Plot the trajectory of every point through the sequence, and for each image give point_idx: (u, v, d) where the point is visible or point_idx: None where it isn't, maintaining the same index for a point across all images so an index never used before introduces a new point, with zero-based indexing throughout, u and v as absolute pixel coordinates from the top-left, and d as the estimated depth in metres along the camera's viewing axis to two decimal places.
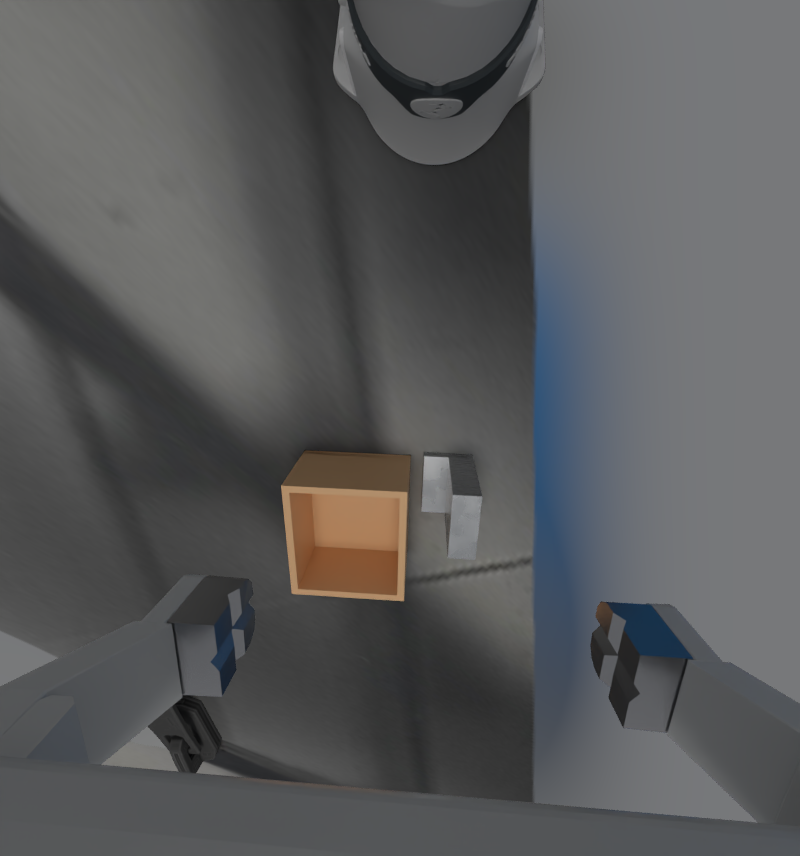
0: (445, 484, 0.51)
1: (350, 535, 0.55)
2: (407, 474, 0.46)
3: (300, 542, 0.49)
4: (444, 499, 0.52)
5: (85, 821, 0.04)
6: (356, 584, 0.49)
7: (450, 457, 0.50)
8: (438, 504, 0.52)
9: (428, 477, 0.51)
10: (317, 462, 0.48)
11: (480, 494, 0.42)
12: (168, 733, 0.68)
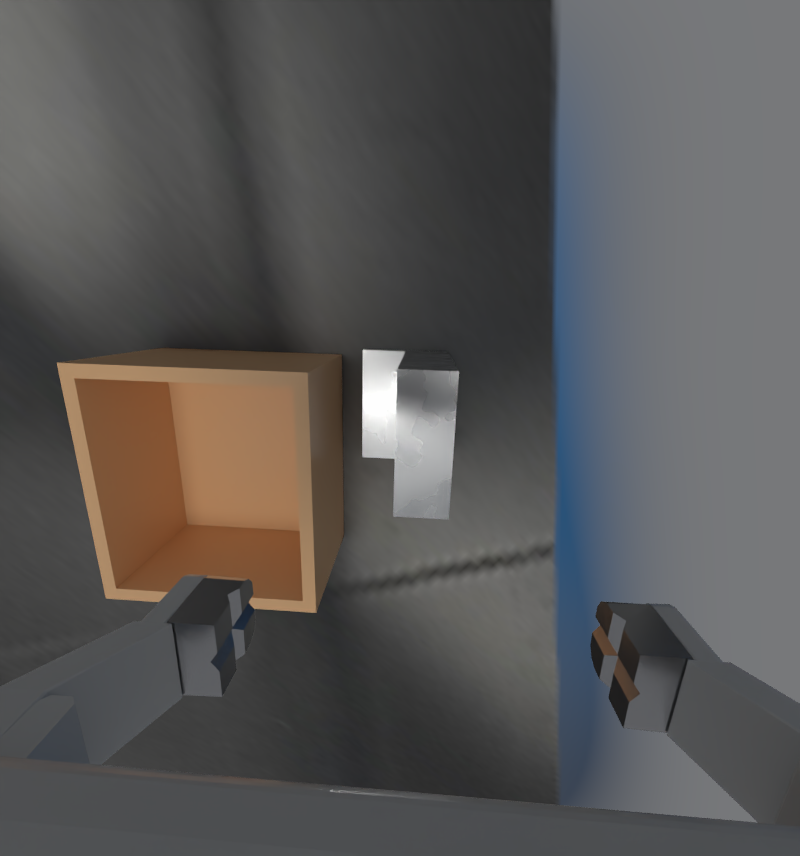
0: None
1: (244, 503, 0.32)
2: (322, 363, 0.25)
3: (127, 500, 0.26)
4: None
5: (85, 820, 0.04)
6: None
7: (408, 351, 0.28)
8: (390, 443, 0.30)
9: (371, 391, 0.29)
10: (168, 353, 0.27)
11: (455, 370, 0.20)
12: None
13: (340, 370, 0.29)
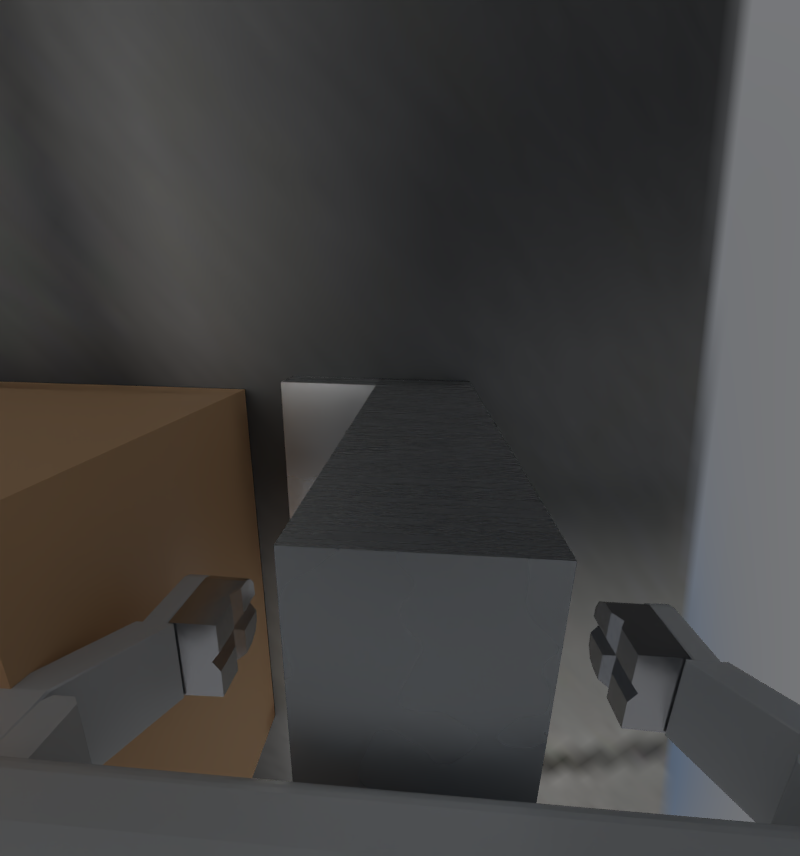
0: None
1: None
2: (141, 432, 0.09)
3: None
4: None
5: (86, 820, 0.04)
6: None
7: (383, 384, 0.12)
8: None
9: (305, 469, 0.13)
10: None
11: (550, 538, 0.04)
12: None
13: (240, 424, 0.14)
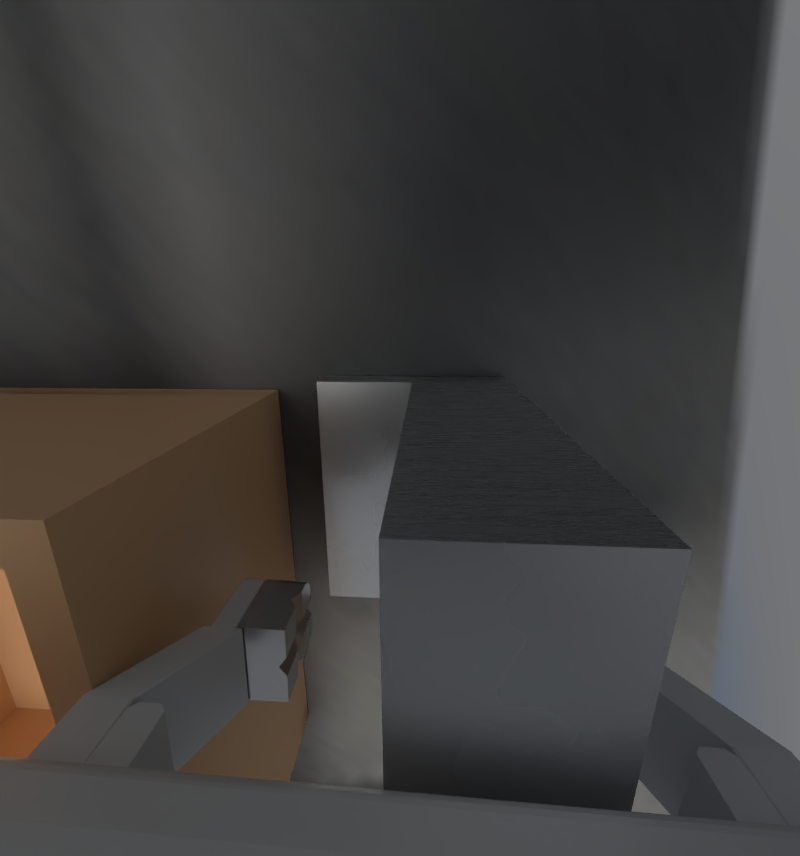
0: None
1: None
2: (192, 433, 0.09)
3: None
4: None
5: (86, 820, 0.04)
6: None
7: (419, 382, 0.12)
8: None
9: (341, 468, 0.13)
10: None
11: (654, 527, 0.04)
12: None
13: (275, 424, 0.14)
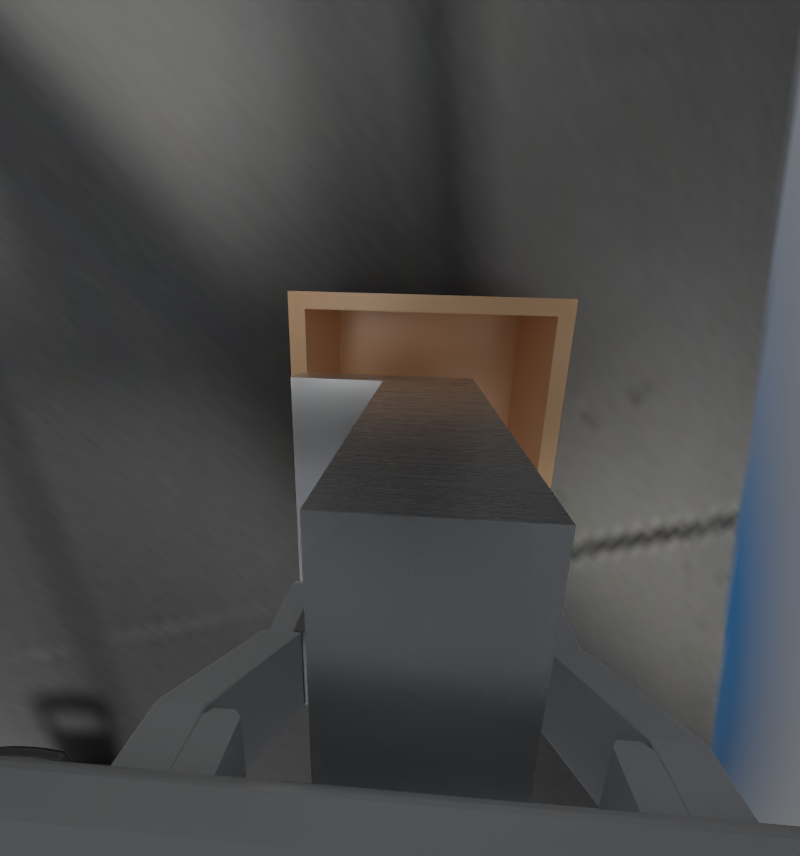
0: None
1: None
2: None
3: None
4: None
5: (85, 820, 0.04)
6: None
7: (389, 380, 0.13)
8: None
9: (313, 462, 0.14)
10: None
11: (551, 508, 0.05)
12: None
13: None
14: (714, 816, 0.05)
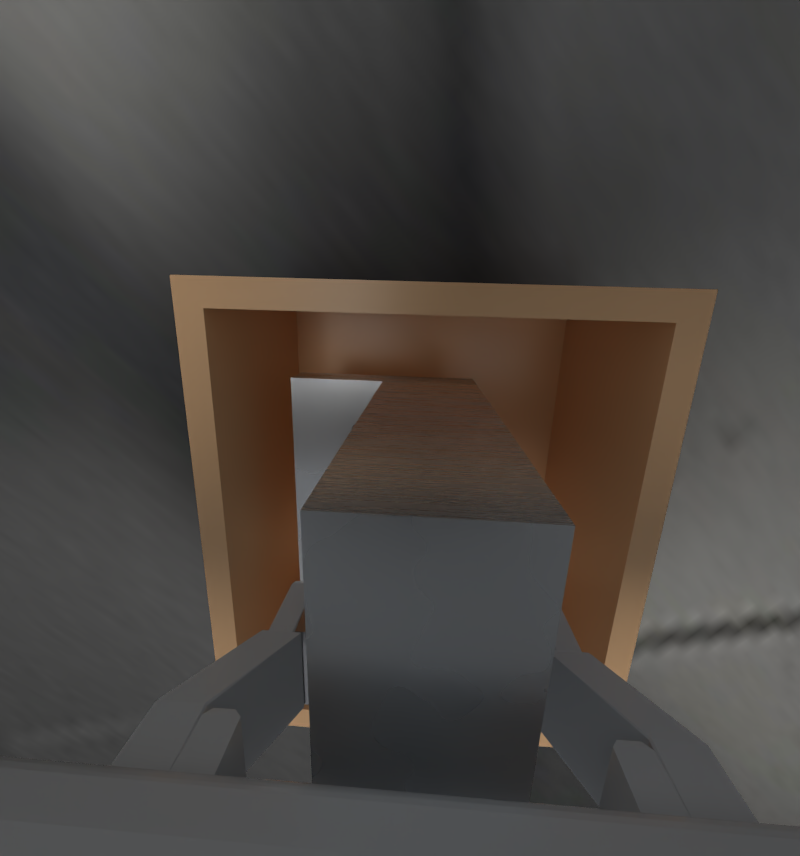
0: None
1: None
2: None
3: (258, 543, 0.15)
4: None
5: (86, 819, 0.04)
6: None
7: (389, 381, 0.13)
8: None
9: (313, 462, 0.14)
10: None
11: (551, 508, 0.05)
12: None
13: None
14: (714, 816, 0.05)
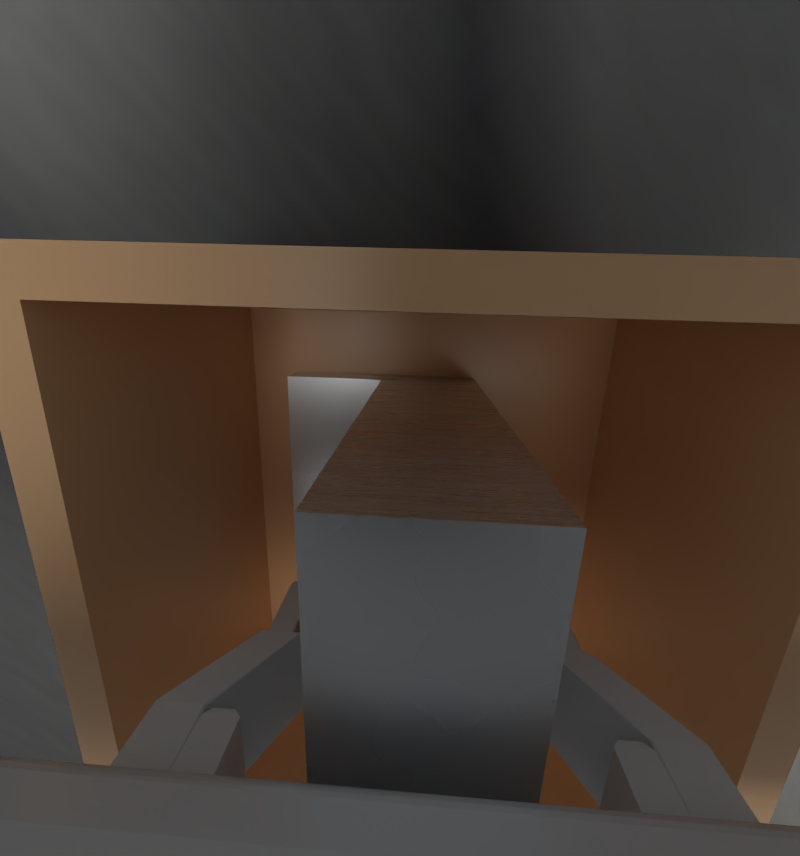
0: None
1: None
2: None
3: (179, 648, 0.10)
4: None
5: (86, 819, 0.04)
6: None
7: (388, 379, 0.13)
8: None
9: (310, 463, 0.14)
10: None
11: (560, 509, 0.04)
12: None
13: None
14: (715, 816, 0.05)
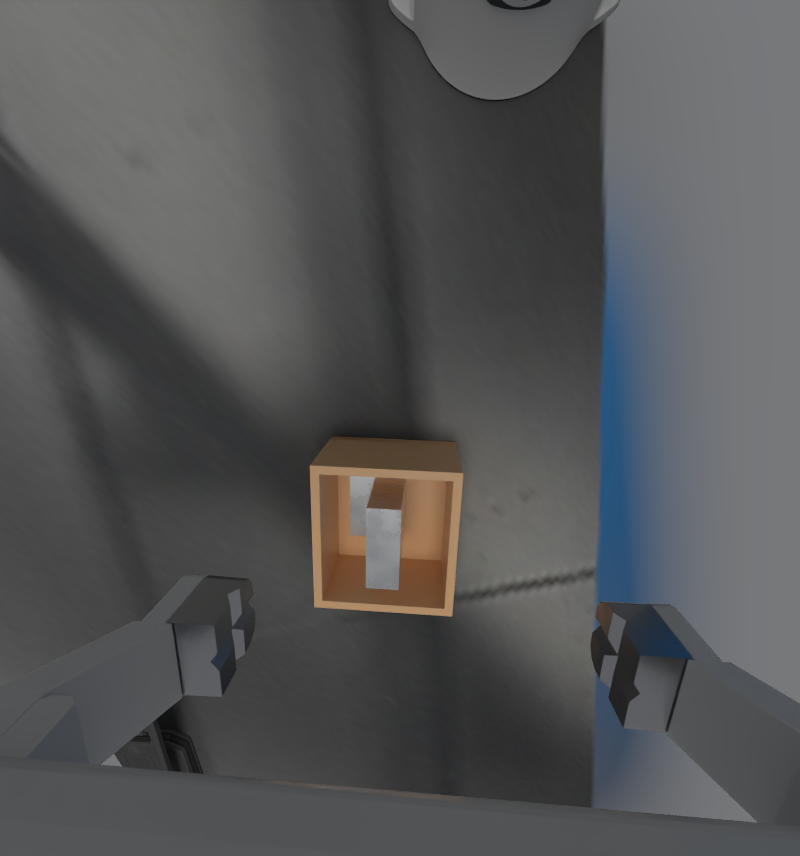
0: None
1: None
2: (457, 457, 0.39)
3: (326, 543, 0.40)
4: None
5: (85, 821, 0.04)
6: (392, 596, 0.41)
7: None
8: None
9: (355, 494, 0.44)
10: (349, 446, 0.41)
11: (399, 507, 0.35)
12: None
13: None
14: None
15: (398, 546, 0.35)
